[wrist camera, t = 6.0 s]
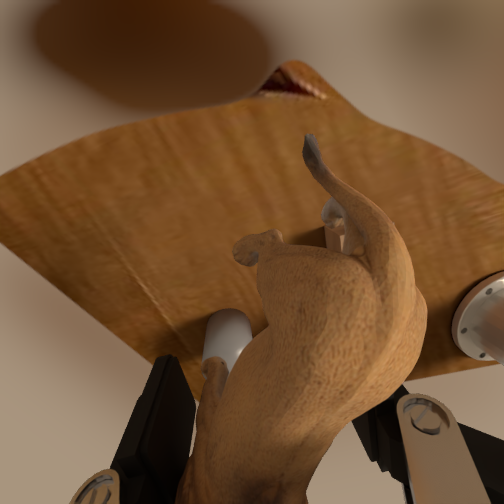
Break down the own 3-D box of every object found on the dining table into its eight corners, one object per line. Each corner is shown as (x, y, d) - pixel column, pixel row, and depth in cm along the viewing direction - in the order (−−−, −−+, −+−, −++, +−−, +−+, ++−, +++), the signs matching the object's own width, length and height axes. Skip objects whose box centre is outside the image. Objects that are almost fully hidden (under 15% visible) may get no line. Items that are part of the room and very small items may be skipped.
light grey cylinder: (244, 303, 28) (249, 338, 22) (254, 339, 29) (261, 380, 24) (201, 314, 28) (194, 352, 22) (213, 350, 29) (210, 393, 24)
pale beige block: (370, 214, 26) (394, 222, 22) (372, 249, 27) (395, 263, 23) (323, 225, 26) (339, 235, 22) (328, 260, 27) (344, 275, 23)
